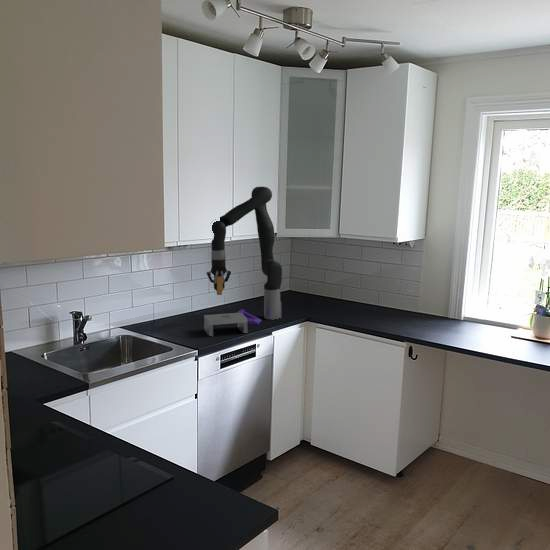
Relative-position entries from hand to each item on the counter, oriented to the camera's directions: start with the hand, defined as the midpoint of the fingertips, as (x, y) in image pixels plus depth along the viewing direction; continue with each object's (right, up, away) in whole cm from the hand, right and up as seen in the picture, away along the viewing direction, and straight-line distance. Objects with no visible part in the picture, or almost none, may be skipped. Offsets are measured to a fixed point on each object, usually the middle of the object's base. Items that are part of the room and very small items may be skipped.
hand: (219, 289), depth 301 cm
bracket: (+16, -19, +8) cm, 26 cm away
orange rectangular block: (0, -3, 0) cm, 3 cm away
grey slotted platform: (+4, -22, -11) cm, 25 cm away
